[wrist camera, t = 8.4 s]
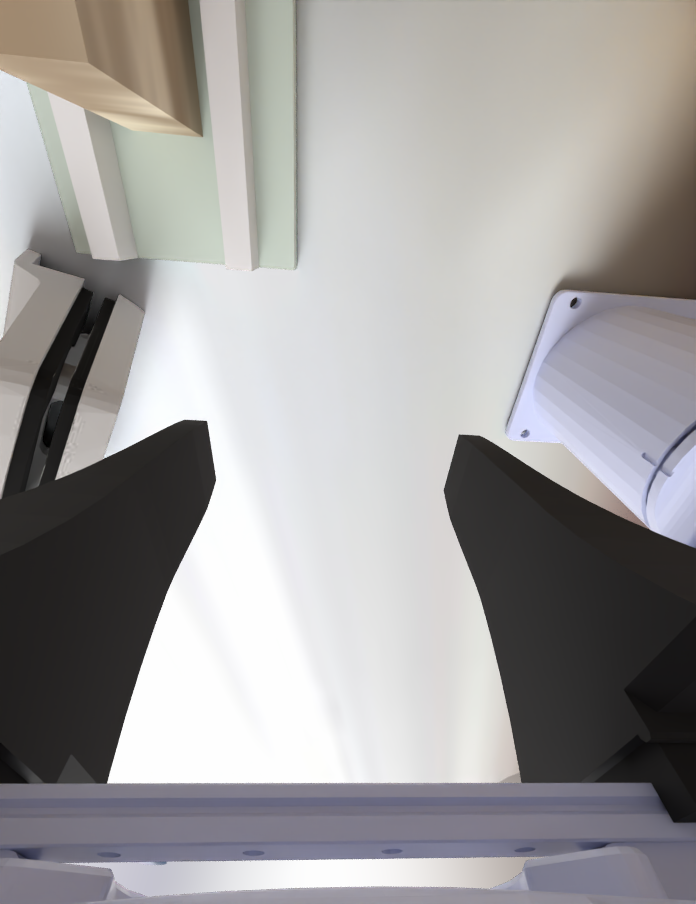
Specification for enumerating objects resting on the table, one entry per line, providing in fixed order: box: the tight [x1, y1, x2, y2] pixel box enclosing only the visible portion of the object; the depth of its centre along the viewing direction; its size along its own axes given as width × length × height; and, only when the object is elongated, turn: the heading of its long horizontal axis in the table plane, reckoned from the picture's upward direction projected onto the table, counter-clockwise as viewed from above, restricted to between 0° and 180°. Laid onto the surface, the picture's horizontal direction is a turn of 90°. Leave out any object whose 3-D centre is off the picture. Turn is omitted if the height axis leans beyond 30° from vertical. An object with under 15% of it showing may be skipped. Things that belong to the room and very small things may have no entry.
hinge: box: [0, 249, 145, 499], centre depth 17 cm, size 17×5×10 cm, turn 146°
